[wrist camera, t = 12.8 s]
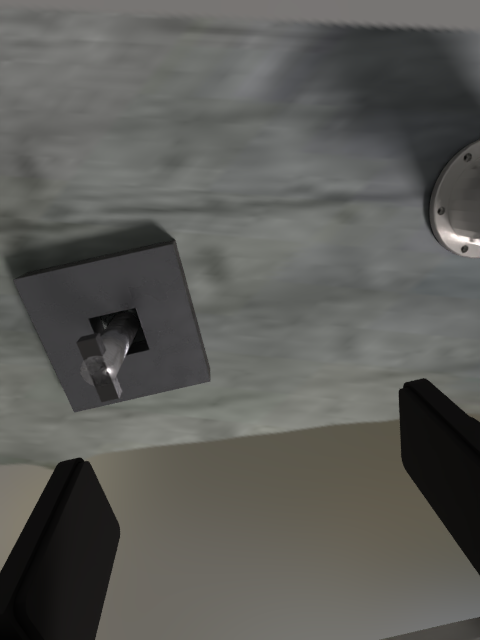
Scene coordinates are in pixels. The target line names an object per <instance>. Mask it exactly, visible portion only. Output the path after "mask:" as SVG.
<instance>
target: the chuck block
mask: <svg viewBox="0 0 480 640" xmlns="http://www.w3.org/2000/svg"><path fill="white" fill-rule="evenodd" d="M13 281H14V283H15V285H16V287H17V289H18V292H19V294H20V296H21V298H22V300H23V302H24V305H25V307H26V309H27V311H28V313H29V315H30V318H31V320H32V322H33V324H34V326H35V328H36V331H37V333H38V335H39V337H40V339H41V341H42V344H43V346H44V348H45V350H46V352H47V354H48V357H49V359H50V361H51V363H52V365H53V367H54V370H55V372H56V374H57V376H58V378H59V380H60V383H61V385H62V387H63V389H64V391H65V393H66V396H67V398H68V400H69V402H70V404H71V406H72V409H73V411H74V412H78V411H82V410H87V409H91V408H96V407H100V406H104V405H109V404H113V403H117V402H122V401H126V400H131V399H135V398H139V397H144V396H148V395H152V394H157V393H161V392H166V391H170V390H174V389H179V388H183V387H188V386H192V385H196V384H201V383H205V382H209V381H210V366H209V363H208V359H207V355H206V352H205V348H204V344H203V341H202V337H201V333H200V330H199V326H198V322H197V318H196V315H195V311H194V307H193V304H192V300H191V296H190V293H189V289H188V285H187V282H186V278H185V274H184V271H183V267H182V263H181V260H180V256H179V252H178V248H177V245H176V241H175V240H172V241H167V242H163V243H158V244H154V245H149V246H145V247H140V248H136V249H131V250H127V251H122V252H118V253H114V254H109V255H105V256H100V257H96V258H91V259H87V260H82V261H78V262H73V263H69V264H64V265H60V266H55V267H51V268H46V269H42V270H37V271H33V272H29V273H26V274H24V275H22V276H20V277H18V278H16V279H14V280H13ZM133 308H136V311H137V314H138V317H139V320H140V323H141V326H142V329H143V332H144V335H145V338H146V341H142V342H137V343H133V344H131V346H130V348H129V350H128V352H127V354H126V356H125V359H124V361H123V363H122V365H121V367H120V369H119V371H118V373H117V379H118V382H119V384H120V387H121V389H122V393H121V395H120V398H119V399H114V400H110V401H105V402H101V400H100V398H99V395H98V393H97V391H96V388H95V386H93V385H90V384H89V383H87V382H86V381H85V380H84V379H83V378H82V376H81V373H80V367H81V364H82V362H83V361H84V360H83V357H82V355H81V353H80V350H79V348H78V346H77V343H76V342H77V341H78V340H79V339H80V337H82V336H86V335H91V334H95V333H100V336H101V335H102V334H103V332H104V331H105V330H104V327H103V325H102V322H101V319H100V317H99V316H102V315H106V314H110V313H115V312H119V311H124V310H128V309H133Z"/></svg>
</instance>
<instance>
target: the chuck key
mask: <svg viewBox="0 0 480 640" xmlns="http://www.w3.org/2000/svg"><path fill="white" fill-rule="evenodd" d="M138 329H139V321H138V319H137V317H136V316H135V315H133V314H132V313H129V312H120V313H118V314H116V315H115V316H114V318H113V319H112V321H111V322H110V324H109V325H108V326H107V328H106V329H105V331H104V332H103V334H102V335H101V336H100V333H95V334H91V335H86V336H82V337H80V339H79V340H78V341H77V342H76V343H77V346H78V348H79V350H80V353H81V355H82V357H83V360H84V361H83V362H82V364H81V367H80V373H81V376H82V378H83V379H84V380H85V381H86V382H87V383H89V384H90V385H93V386H95V388H96V391H97V393H98V395H99V398H100V400H101V402H105V401H110V400H114V399H119V398H120V395H121V393H122V389H121V387H120V384H119V382H118V379H117V373H118V371H119V369H120V367H121V365H122V363H123V361H124V359H125V356H126V354H127V352H128V350H129V348H130V346H131V344H132V341H133V339H134V337H135V335H136V333H137V331H138Z"/></svg>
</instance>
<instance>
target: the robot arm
mask: <svg viewBox="0 0 480 640" xmlns="http://www.w3.org/2000/svg"><path fill="white" fill-rule="evenodd" d="M437 211H438V212H437ZM429 217H430V223H431V227H432V230H433V233H434V235H435V237H436V238H437V240H438V241H439V243H440V244H441V245H442V246H443V247H444V248H445V249H447V250H448V251H450V252H452V253H454V254H457V255H460V256H463V257H469V258H480V139H479V140H477V141H475V142H472V143H471V144H469V145H467V146H466V147H464V148H463V149H461V150H460V151H459V152H458V153H457V154H456V155H455V156H454V157H453V158H452V159H451V160H450V161H449V162H448V164H447V165H446V166H445V167H444V169H443V170H442V172H441V174H440V175H439V177H438V179H437V181H436V183H435V186H434V189H433V191H432V195H431V200H430V209H429ZM399 412H400V435H401V457H402V462H403V465H404V468H405V470H406V471H407V473H408V474H409V475H410V477H411V478H412V480H413V481H414V483H415V484H416V485H417V487H418V488H419V490H420V491H421V492H422V494H423V495H424V497H425V498H426V499H427V501H428V502H429V504H430V505H431V507H432V508H433V510H434V511H435V512H436V514H437V515H438V517H439V518H440V520H441V521H442V522H443V524H444V525H445V527H446V528H447V530H448V531H449V532H450V534H451V535H452V536H453V538H454V539H455V541H456V542H457V544H458V545H459V547H460V548H461V549H462V551H463V552H464V554H465V555H466V556H467V558H468V559H469V561H470V562H471V564H472V565H473V567H474V568H475V569H476V571H477V572H478V573H479V575H480V422H479V421H477V420H476V419H474V418H472V417H469V416H468V415H467V414H466V413H465V412H464V411H463V410H461V409H460V408H459V407H458V406H457V405H456V404H455V403H453V402H452V401H451V400H450V399H449V398H448V397H447V396H446V395H444V394H443V393H442V392H441V391H440V390H439V389H438V388H436V387H435V386H434V385H433V384H432V383H431V382H430V381H428V380H427V379H424V378H423V379H419V380H414V381H410V382H406V383H404V386H403V388H402V389H400V390H399ZM119 538H120V527H119V523H118V521H117V519H116V517H115V515H114V513H113V511H112V508H111V506H110V504H109V502H108V500H107V498H106V496H105V493H104V491H103V489H102V487H101V485H100V483H99V481H98V479H97V476H96V474H95V472H94V470H93V468H92V466H91V464H90V463H89V462H88V461H85V462H84V460H83V459H82V458H75V459H71V460H67V461H62V462H60V463H58V465H57V466H56V468H55V470H54V472H53V474H52V476H51V477H50V479H49V481H48V483H47V485H46V487H45V489H44V491H43V493H42V494H41V496H40V498H39V501H38V502H37V504H36V506H35V508H34V510H33V511H32V513H31V515H30V517H29V519H28V521H27V523H26V525H25V527H24V529H23V531H22V532H21V534H20V536H19V538H18V540H17V542H16V544H15V546H14V547H13V549H12V551H11V553H10V555H9V557H8V559H7V561H6V563H5V565H4V566H3V568H2V570H1V572H0V640H95V637H96V633H97V629H98V625H99V621H100V617H101V613H102V608H103V604H104V600H105V596H106V592H107V588H108V584H109V580H110V575H111V571H112V567H113V563H114V559H115V555H116V551H117V547H118V542H119ZM381 640H480V617H479V618H473V619H469V620H464V621H459V622H454V623H450V624H446V625H441V626H437V627H433V628H429V629H424V630H420V631H415V632H411V633H407V634H403V635H398V636H394V637H389V638H385V639H381Z"/></svg>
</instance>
